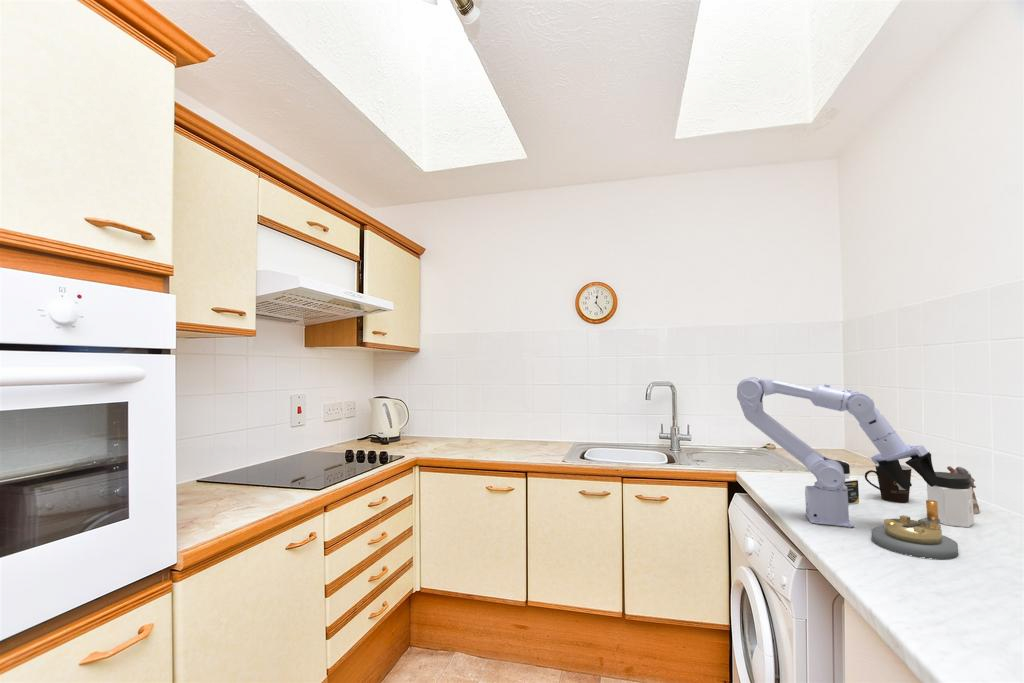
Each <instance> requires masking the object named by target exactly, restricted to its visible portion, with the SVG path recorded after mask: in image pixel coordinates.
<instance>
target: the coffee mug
mask: <svg viewBox="0 0 1024 683" xmlns="http://www.w3.org/2000/svg"><path fill="white" fill-rule="evenodd" d="M874 465H875V466H874V467H875V470H873V469H871V470H867V471H866V472H865V473H864V479H865V481H866V482H867V483H868V484H869V485H871V486H872V487H874V488H876V489H877V490H879V491H880V497H881V498H880V499H881V500H884V501H886V502H890V503H895V504H896V503H897V504H898V503H899V504H907V503H909V502H910V491H911V487H909V488H908V489H903V488H902V487H901V486H900V485H899V484H898V483H896V482H895V481H894V480H893V479H891V478H890V477H889V476H887V475H886V474H884V473H882V472H880V471H878V470H877V468H876V467H878V466H879V464H875V463H874ZM900 465H901V468H902V470H903V471H904V473H905V475H906V476H907V478H908V479H909V480H910V482H911V479H912V470H913V468H912V467H910V466H909V465H903V464H900ZM870 473H874V474H876V476H877V482H878V486H877V485H876V484H874V483H872V482H871V480H869V478H868V475H869V474H870Z"/></svg>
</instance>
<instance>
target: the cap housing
mask: <svg viewBox="0 0 1024 683" xmlns="http://www.w3.org/2000/svg"><path fill="white" fill-rule="evenodd" d="M870 530H871V532H870V533H871V540H872V542H873V543H874V544H876V546H879V547H881V548H883V549H886V550H888V551H890V552H894V553H897V552H898V553H897V554H901V553H902V555H905V554H907V555H906V556H909V555H912V556H911V557H914V556H916V557H915V558H920V557H925V558H924V559H927V558H932V559H931V560H951V559H952V560H953V559H955V558H957V557H959V546H958V545H959V544H958V542H957V541H955V540H954V539H952V538H951V537H949V536H946V535H943V534H942V543H941V544H936V545H925V544H916V543H910V542H905V541H901V540H898V539H895V538H892V537H890V536H888V535H887V534H885V528H884V525H878V526H875V527H873V528H871V529H870Z"/></svg>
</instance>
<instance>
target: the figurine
mask: <svg viewBox="0 0 1024 683" xmlns="http://www.w3.org/2000/svg"><path fill="white" fill-rule="evenodd" d="M946 469H947V470H948V471H949V473H956V474H961V475H965V476H968V477H969V478H970V481H971V485H970V487H972V497H973V512H974V515H977V514H981V511H980V507H979V506H980V505H979V503H978V500H977V496H976V494H975V490H974V489H976V488H977V485H976V484H975V483H974V482H975V481H976V480H975V479H974V478H973V477H972V474H971V473H970V472H969V471H968V470H967V469H966V468H964V467H962V466H957V467H956V468H955V469H954V468H953V467H952V466H950V465H949V466H946ZM976 513H977V514H976Z"/></svg>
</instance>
